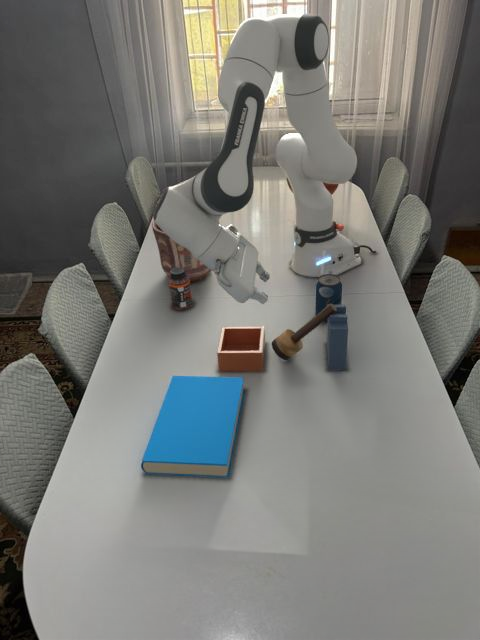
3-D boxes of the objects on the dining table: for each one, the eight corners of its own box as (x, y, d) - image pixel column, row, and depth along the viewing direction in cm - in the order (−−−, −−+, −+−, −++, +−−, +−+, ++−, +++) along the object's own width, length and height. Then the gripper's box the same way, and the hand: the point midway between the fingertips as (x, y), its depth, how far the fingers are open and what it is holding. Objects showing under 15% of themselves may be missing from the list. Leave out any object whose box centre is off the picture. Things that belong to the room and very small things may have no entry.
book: (243, 376, 115) (228, 463, 95) (245, 391, 117) (230, 478, 97) (169, 375, 116) (138, 459, 96) (172, 389, 119) (142, 474, 99)
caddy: (219, 371, 123) (217, 353, 119) (224, 344, 131) (222, 326, 128) (263, 371, 122) (262, 352, 119) (265, 344, 130) (264, 326, 127)
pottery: (152, 286, 157) (140, 231, 146) (174, 259, 170) (165, 207, 159) (206, 291, 153) (198, 235, 142) (224, 263, 166) (219, 211, 155)
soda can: (330, 328, 135) (332, 289, 127) (309, 319, 138) (310, 280, 131) (345, 316, 139) (348, 278, 131) (325, 308, 142) (326, 270, 135)
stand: (328, 370, 121) (330, 323, 113) (326, 344, 129) (328, 299, 121) (345, 370, 121) (348, 323, 113) (342, 344, 129) (345, 299, 121)
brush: (271, 364, 124) (269, 312, 114) (272, 349, 128) (270, 298, 119) (335, 364, 123) (338, 311, 113) (333, 349, 127) (336, 297, 118)
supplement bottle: (189, 311, 144) (183, 276, 137) (169, 310, 145) (163, 275, 139) (196, 300, 149) (190, 265, 142) (176, 299, 150) (170, 264, 143)
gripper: (223, 264, 99) (275, 306, 105) (233, 220, 115) (277, 259, 121) (203, 284, 102) (254, 324, 108) (216, 239, 118) (260, 275, 124)
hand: (267, 289), depth 114 cm, fingers open, 8 cm apart
